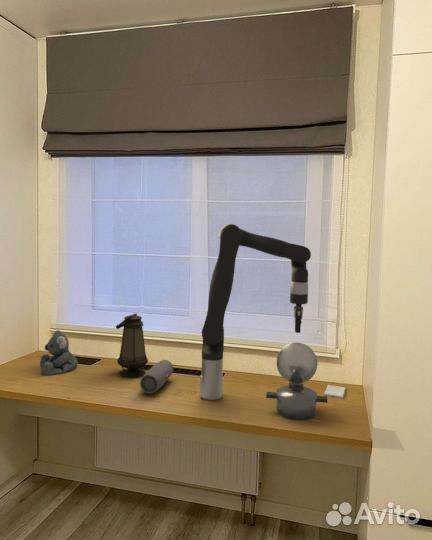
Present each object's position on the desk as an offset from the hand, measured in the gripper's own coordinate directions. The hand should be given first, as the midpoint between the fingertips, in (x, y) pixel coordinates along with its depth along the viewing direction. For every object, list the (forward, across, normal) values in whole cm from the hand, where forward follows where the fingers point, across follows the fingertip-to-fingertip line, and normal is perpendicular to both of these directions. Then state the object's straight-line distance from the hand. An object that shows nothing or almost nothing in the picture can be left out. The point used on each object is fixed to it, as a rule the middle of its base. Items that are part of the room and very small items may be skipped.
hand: (297, 331), depth 192 cm
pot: (+29, +16, 0) cm, 34 cm away
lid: (+13, +7, 0) cm, 15 cm away
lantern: (+29, -14, -79) cm, 85 cm away
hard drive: (+30, -8, +18) cm, 36 cm away
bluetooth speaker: (+30, +2, -62) cm, 69 cm away
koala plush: (+30, -12, -117) cm, 121 cm away
